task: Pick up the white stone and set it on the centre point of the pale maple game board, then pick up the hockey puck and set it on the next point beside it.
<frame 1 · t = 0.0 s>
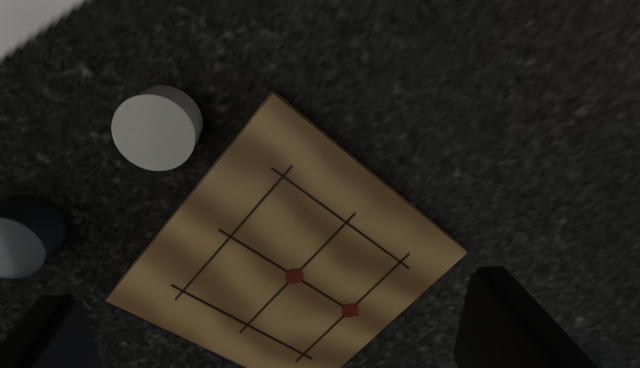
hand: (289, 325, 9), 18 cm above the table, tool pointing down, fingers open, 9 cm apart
white stone: (166, 121, 25), on the table
hockey puck: (31, 225, 26), on the table
board: (293, 266, 31), on the table
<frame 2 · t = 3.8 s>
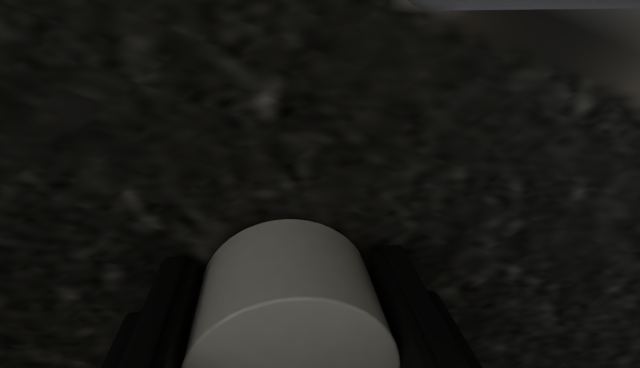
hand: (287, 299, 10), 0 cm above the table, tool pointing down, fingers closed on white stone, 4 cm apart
white stone: (286, 290, 11), on the table, touching gripper
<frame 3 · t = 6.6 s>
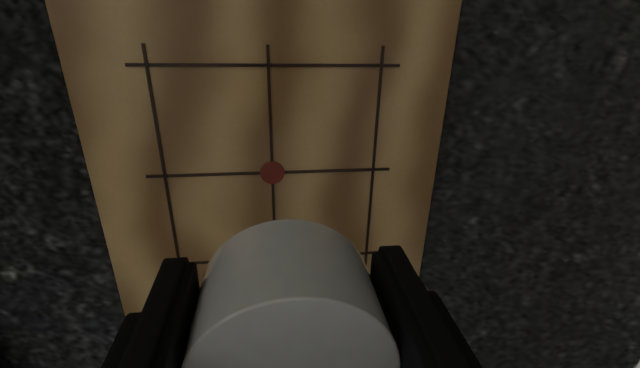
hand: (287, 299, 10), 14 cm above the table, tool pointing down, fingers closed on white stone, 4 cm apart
white stone: (286, 290, 11), point 13 cm above the table, touching gripper
board: (272, 164, 23), on the table
when the fingers open (2 cm above the table, at t = 9.7 s): white stone stays where it is, resting on board.
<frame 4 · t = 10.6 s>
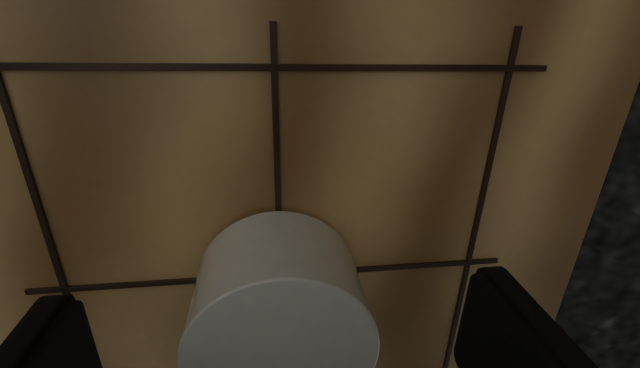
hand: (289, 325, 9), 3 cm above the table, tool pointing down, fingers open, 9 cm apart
white stone: (278, 278, 11), point 1 cm above the table, touching board
board: (278, 251, 12), on the table
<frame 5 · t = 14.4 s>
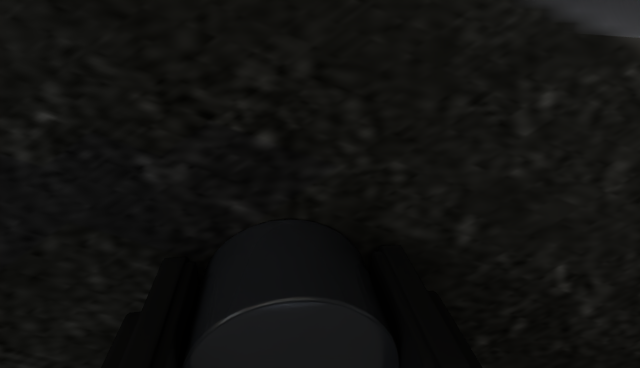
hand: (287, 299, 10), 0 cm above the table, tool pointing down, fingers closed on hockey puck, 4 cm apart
hockey puck: (286, 290, 11), on the table, touching gripper
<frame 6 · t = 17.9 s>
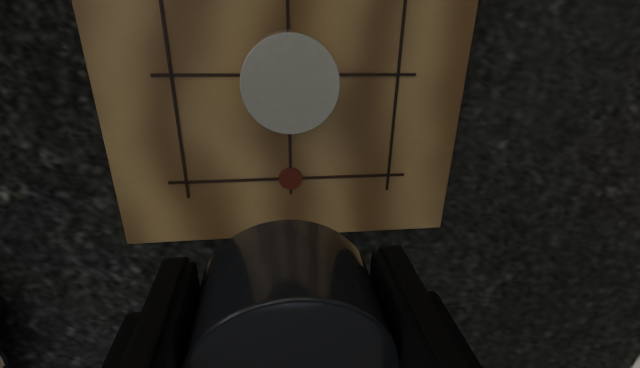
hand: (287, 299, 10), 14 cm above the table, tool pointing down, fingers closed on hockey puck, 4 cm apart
white stone: (287, 76, 20), point 1 cm above the table, touching board
hockey puck: (286, 290, 11), point 14 cm above the table, touching gripper
board: (287, 71, 21), on the table
when the fingers open (2 cm above the table, at t = 21.2 s): hockey puck stays where it is, resting on board.
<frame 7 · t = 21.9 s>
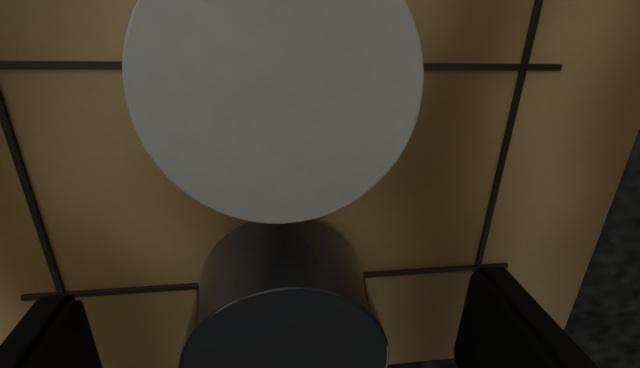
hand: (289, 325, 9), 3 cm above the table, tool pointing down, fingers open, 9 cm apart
white stone: (276, 69, 9), point 1 cm above the table, touching board
hockey puck: (282, 283, 11), point 1 cm above the table, touching board
board: (277, 59, 10), on the table
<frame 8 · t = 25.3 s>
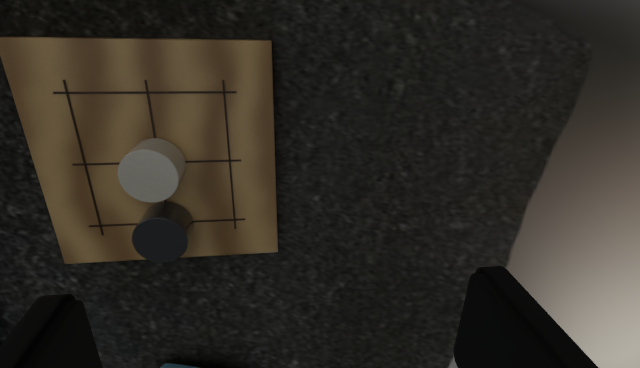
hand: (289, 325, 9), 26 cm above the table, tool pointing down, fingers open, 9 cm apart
white stone: (158, 163, 33), point 1 cm above the table, touching board
hockey puck: (168, 223, 35), point 1 cm above the table, touching board
board: (162, 157, 34), on the table
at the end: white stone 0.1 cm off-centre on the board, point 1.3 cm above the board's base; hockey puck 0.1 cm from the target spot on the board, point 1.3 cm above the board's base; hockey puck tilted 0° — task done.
